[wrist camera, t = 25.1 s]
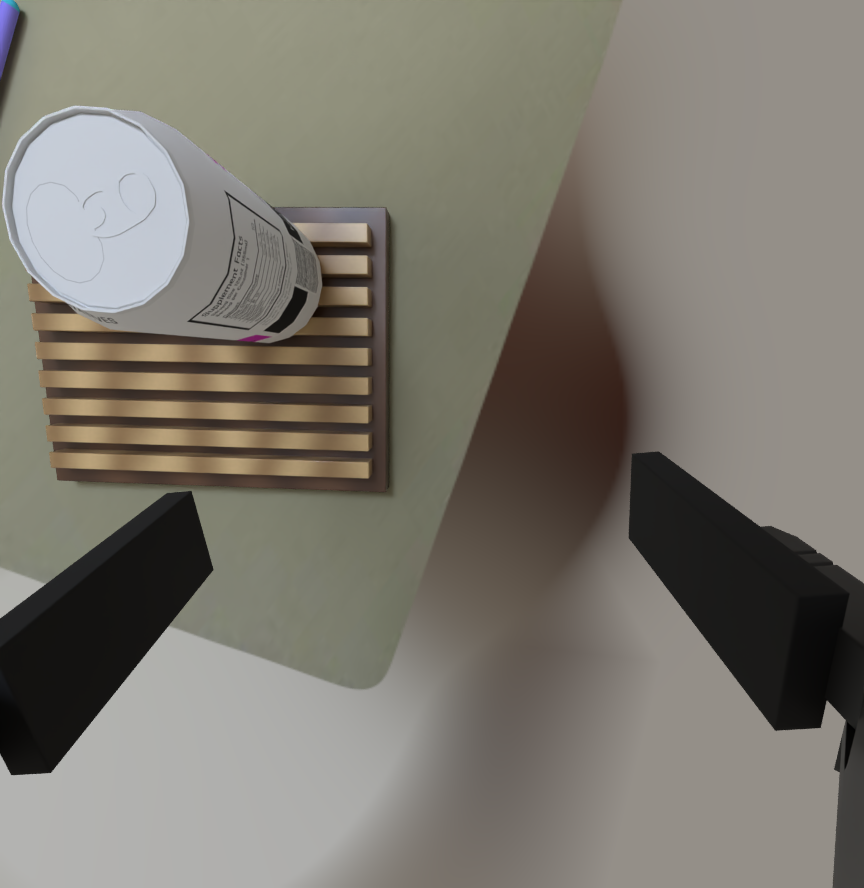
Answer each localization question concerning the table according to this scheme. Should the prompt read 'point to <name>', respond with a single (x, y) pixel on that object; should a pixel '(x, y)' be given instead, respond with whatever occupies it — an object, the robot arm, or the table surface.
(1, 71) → the spoon
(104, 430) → the scrub board
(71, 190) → the supplement can
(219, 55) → the table surface
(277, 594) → the table surface
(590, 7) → the table surface
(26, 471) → the table surface
